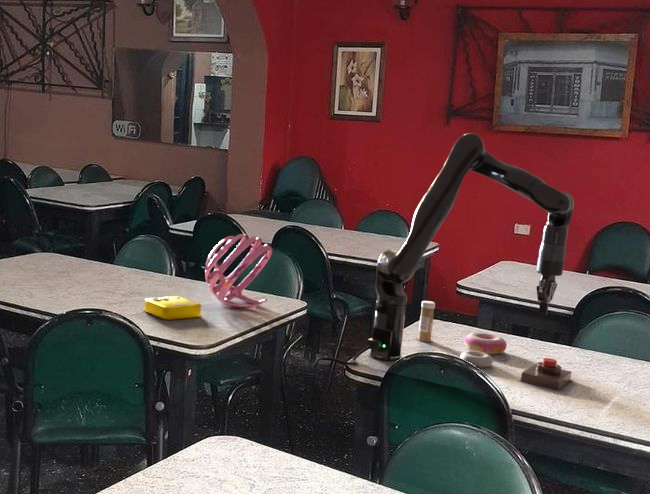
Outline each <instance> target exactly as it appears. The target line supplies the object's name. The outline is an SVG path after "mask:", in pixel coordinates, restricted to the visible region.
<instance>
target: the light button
mask: <svg viewBox="0 0 650 494" xmlns="http://www.w3.org/2000/svg"><path fill="white" fill-rule="evenodd" d="M542 362H543V364H542V365H543V366H546V367H551V368H556V365H558V361H557V360H556V359H555V358H551V357H549V358H548V357H543V358H542Z"/></svg>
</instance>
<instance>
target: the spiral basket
mask: <svg viewBox="0 0 650 494" xmlns="http://www.w3.org/2000/svg"><path fill="white" fill-rule="evenodd" d="M239 240H240V241H239ZM238 241H239V243H238V245H236V248H234V250H233V251H232V252H231V253H230V254H229V255H228V256H227V257H226V259H224V261H223V262H222V263H221V264H220V265H219V263H218V262H219V260H220V259H221V258H223V256H225V254H226V253H227V251H228V250H229V249H230V248H231V247H232V246H233V245H234V244H235V243H237V242H238ZM225 242H226V243H225ZM224 243H225V244H224ZM223 244H224V245H223ZM252 244H253V245H252ZM222 245H223V246H222ZM221 246H222V247H221ZM250 246H252V247H251V248H250V250H249V252H248V253H247V254H246V256H245V257H244V258H243V259H242V261H241V262H240V263H239V264H238V265H237V267H236V268H234V270H233V271H232V272H231V273H230V274H229V275H228V276H225V274H224V273H225V271H226V270H227V269H228V268H229V267H230V265H231V264H233V262H234V261H235V260H236V259H237V258H238V257H239V255H241V254H242V253H243V252H244V251H245V250H246V249H247V248H248V247H250ZM220 247H221V248H220ZM219 248H220V249H219ZM218 249H219V250H218ZM217 250H218V251H217ZM273 251H274V250H273V247H272V245H270V244H269V243H264V244H263V240H262V238H261V237H259V236H255V235H254V236H249V235H248V234H247V233H239V234H237V235H229V236H226V237H224V238H223V239H221V240H220V241H219V242H218V244H216V245H215V246H214V247H213V249H212V250H211V251H210V253H209V254H208V255H207V258H206V261H205V264H204V265H205V266H204V277H205V282H206V285H207V288H208V289H209V291H210V293H211V294H212V295H213V296H214V298H216V299H217V301H219V302H220V303H222V304H224V305H225V306H228V307H232V308H236V309H250V308H254V307H258V306H260V305H263V304H264V303H266V302H267V301H268V298H263V299H261V300H256V299H252V298H250V297H247V296H246V295H244V294H243V293H242V292H243V291H244V290H245V289H246V288H247V287H248V286H249V285H250V284H251V282H253V281H254V279H256V277H257V276H258V275H259V274H260V272H261V271H262V270H263V268H264V267H265V265H267V263H268V262H269V260H270V259H271V257H272V254H273ZM262 254H263V256H262V257H261V259H260V260H259V262H258V263H257V264H256V265H255V267H254V268H253V269H252V271H250V272H249V274H248V275H247V276H246V277H245V278H244V279H243V280H242V281H241V282H240V283H239V284H238V285H237V286H233V285H234V283H235V282H236V281H237V279H238V278H239V277H240V276H241V275H242V274H243V273H244V272H245V270H246V269H247V268H248V267H249V266H250V265H251V264H252V263H253V262H254V261H256V260H257V259H258V258H259V257H260V256H261V255H262ZM213 268H214V270H213V271H211V270H212V269H213ZM218 281H220V282H219V283H218V284H217V282H218ZM227 293H228V294H227ZM233 299H238V300H240V301H243V302H245V303H248V304H247V305H245V304H244V305H242V304H241V305H240V304H234V303H231V302H230V301H232V300H233Z"/></svg>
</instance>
